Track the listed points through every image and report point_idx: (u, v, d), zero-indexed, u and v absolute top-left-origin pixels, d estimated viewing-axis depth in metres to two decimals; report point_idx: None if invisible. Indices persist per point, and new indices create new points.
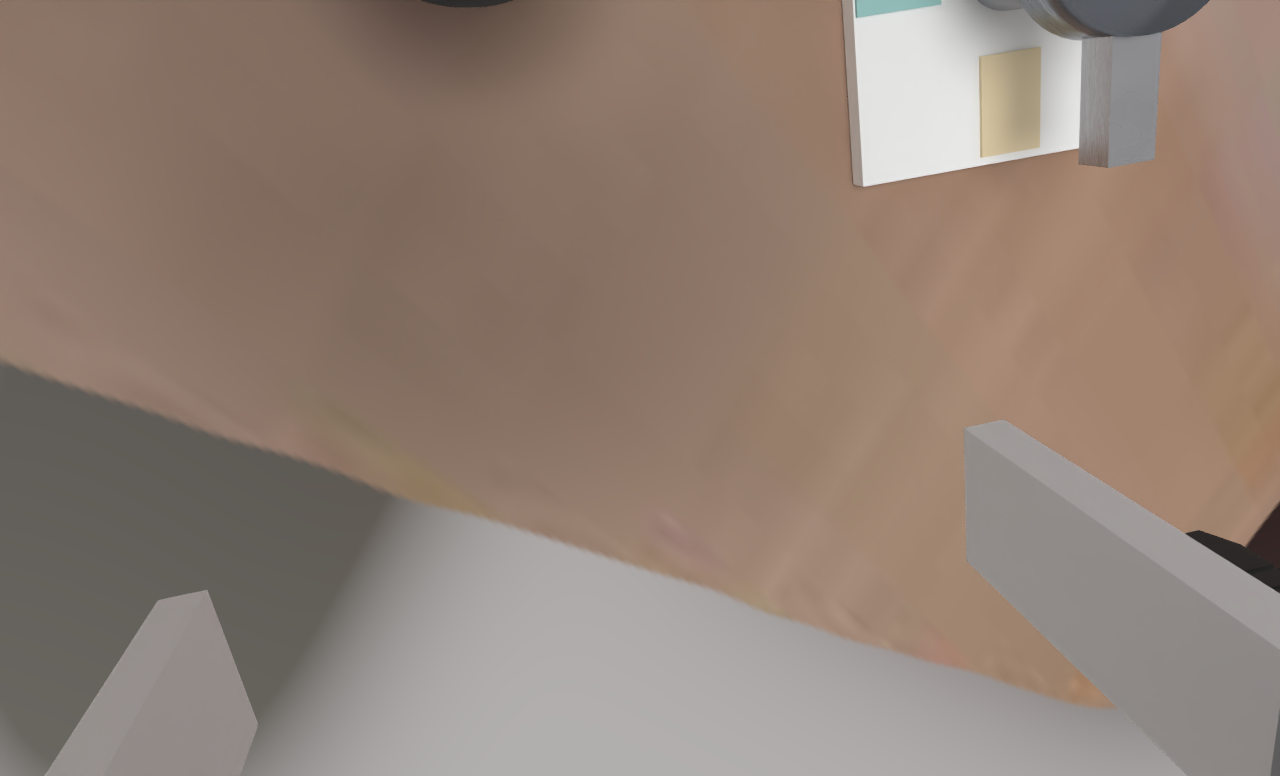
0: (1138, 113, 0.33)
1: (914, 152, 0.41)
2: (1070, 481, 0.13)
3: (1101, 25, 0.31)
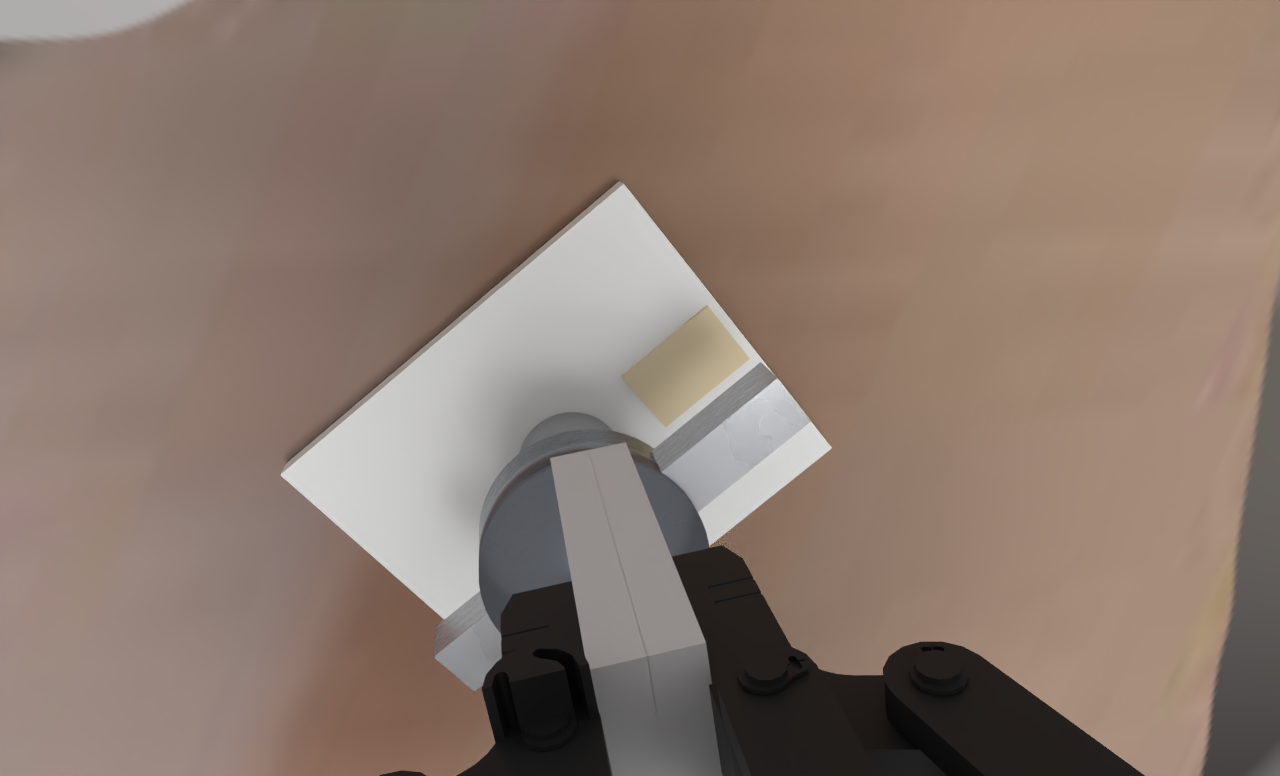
0: (746, 431, 0.28)
1: None
2: (625, 501, 0.14)
3: (707, 547, 0.29)
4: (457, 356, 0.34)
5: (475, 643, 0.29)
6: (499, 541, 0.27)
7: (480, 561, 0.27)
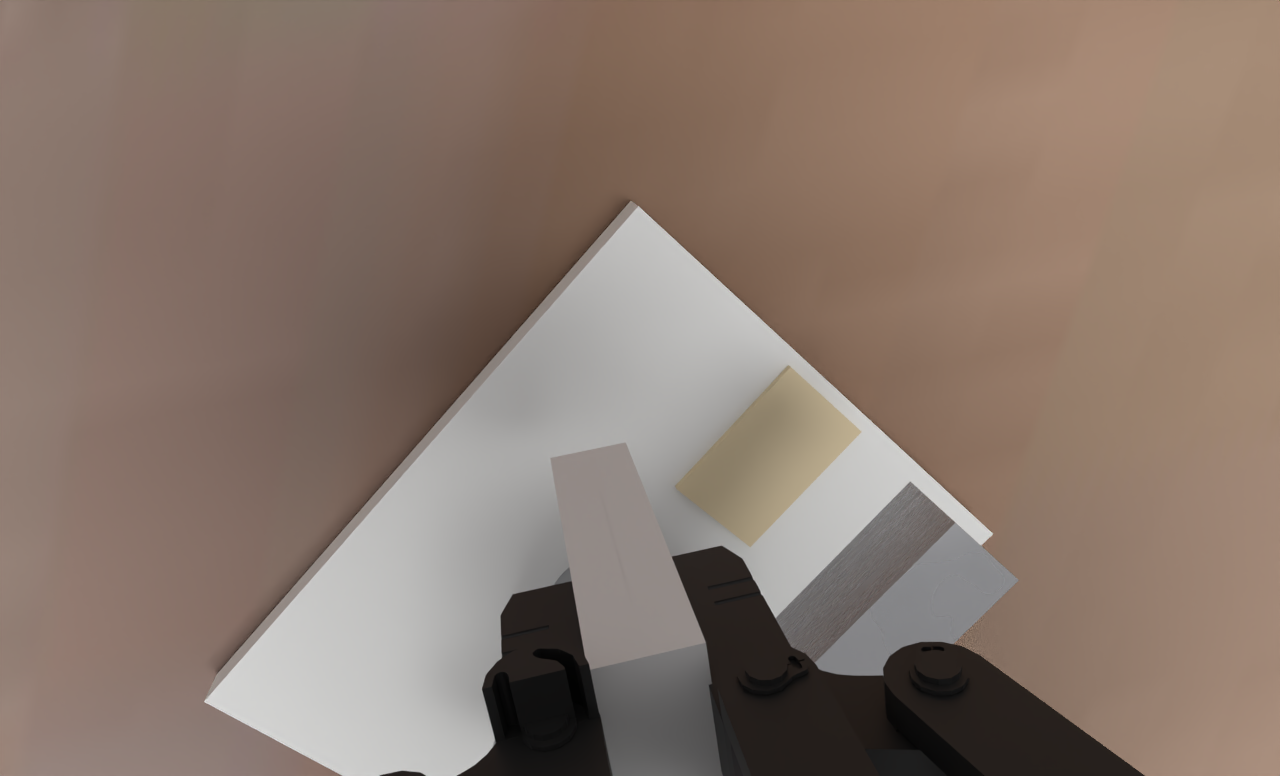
0: (910, 616, 0.16)
1: None
2: (625, 501, 0.14)
3: None
4: (428, 498, 0.23)
5: None
6: None
7: None
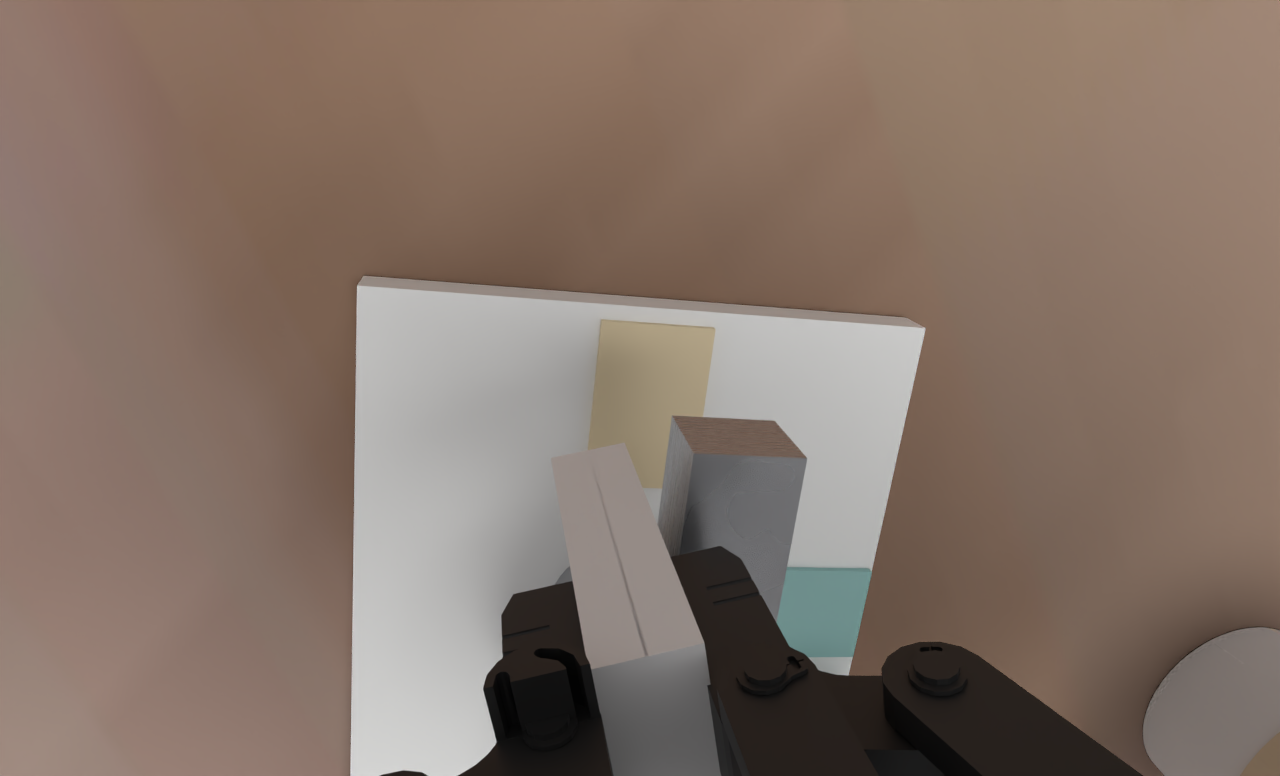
0: None
1: (827, 362, 0.24)
2: (624, 501, 0.14)
3: None
4: (388, 622, 0.24)
5: None
6: None
7: None
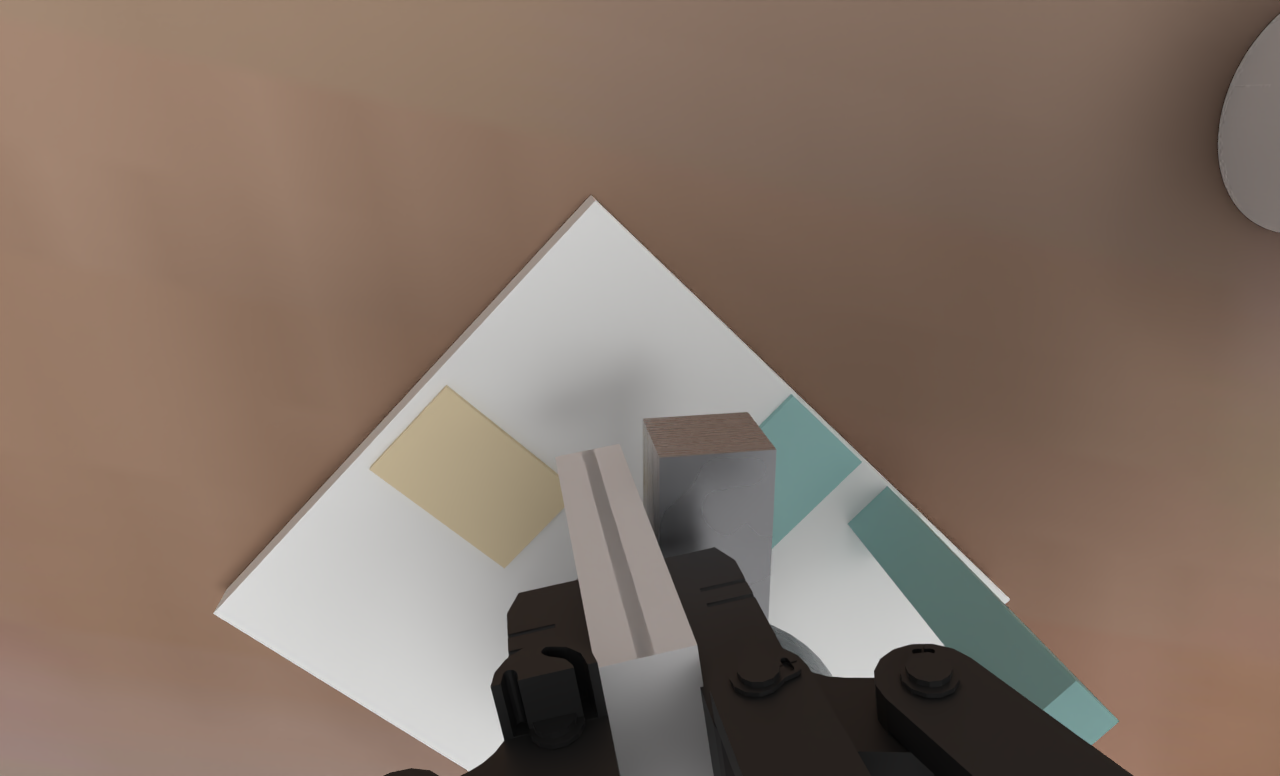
0: None
1: (557, 309, 0.22)
2: (618, 502, 0.14)
3: None
4: None
5: None
6: None
7: None
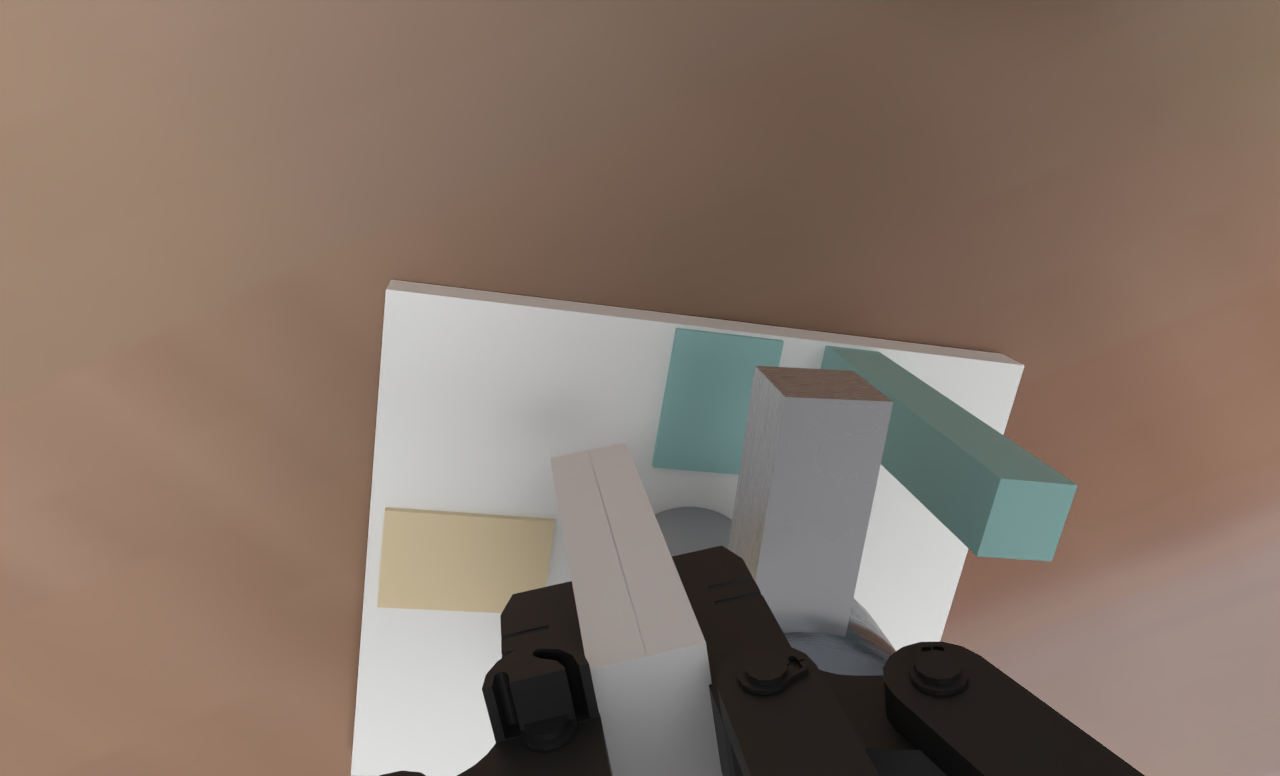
0: (811, 496, 0.15)
1: (425, 393, 0.22)
2: (625, 501, 0.14)
3: None
4: None
5: None
6: None
7: None
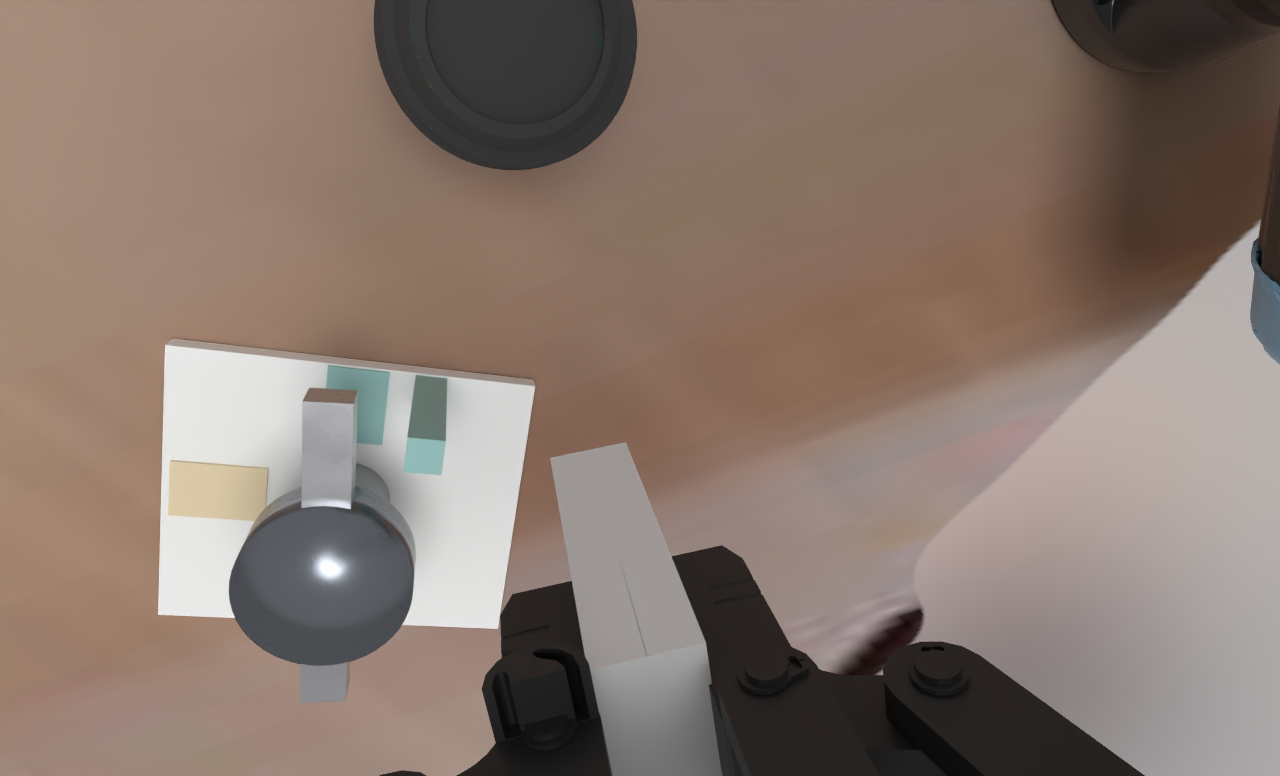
0: (322, 444, 0.36)
1: (189, 399, 0.43)
2: (625, 501, 0.14)
3: (371, 525, 0.37)
4: None
5: (313, 677, 0.39)
6: (249, 622, 0.37)
7: (253, 640, 0.38)
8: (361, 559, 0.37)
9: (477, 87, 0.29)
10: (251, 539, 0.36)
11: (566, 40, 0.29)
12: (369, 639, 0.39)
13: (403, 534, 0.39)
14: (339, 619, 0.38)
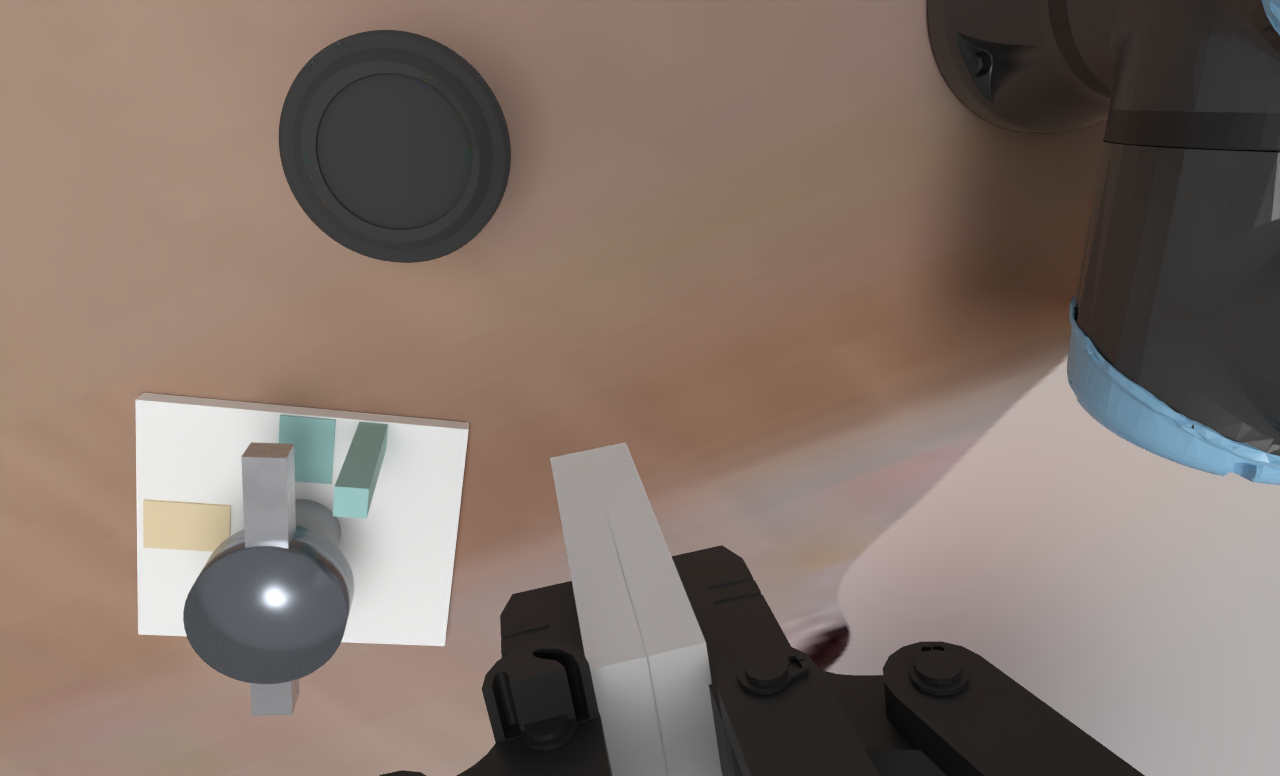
0: (260, 493, 0.41)
1: (159, 446, 0.48)
2: (625, 501, 0.14)
3: (305, 563, 0.42)
4: None
5: (263, 694, 0.45)
6: (203, 647, 0.43)
7: (207, 662, 0.43)
8: (298, 592, 0.43)
9: (365, 199, 0.33)
10: (201, 575, 0.42)
11: (440, 158, 0.33)
12: (309, 661, 0.44)
13: (338, 568, 0.44)
14: (282, 644, 0.43)
